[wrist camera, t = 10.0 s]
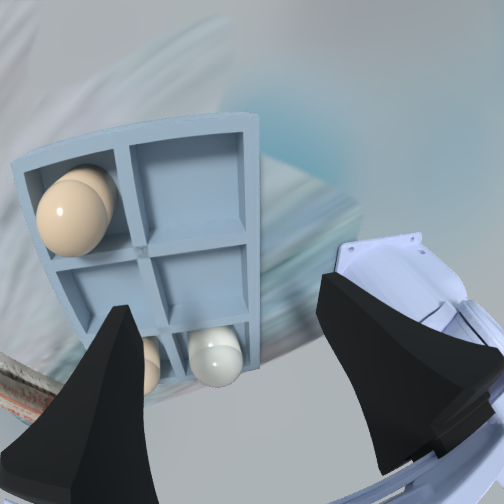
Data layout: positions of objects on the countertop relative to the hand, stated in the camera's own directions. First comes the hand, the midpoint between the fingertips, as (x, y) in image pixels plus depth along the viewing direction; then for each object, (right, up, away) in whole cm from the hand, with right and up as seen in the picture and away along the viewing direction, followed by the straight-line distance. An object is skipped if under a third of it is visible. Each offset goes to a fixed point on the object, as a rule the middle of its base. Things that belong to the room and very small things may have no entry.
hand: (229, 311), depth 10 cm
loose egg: (-9, +5, +4) cm, 11 cm away
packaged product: (-27, -14, +13) cm, 33 cm away
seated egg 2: (-3, -5, +12) cm, 13 cm away
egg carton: (-6, +1, +9) cm, 11 cm away
